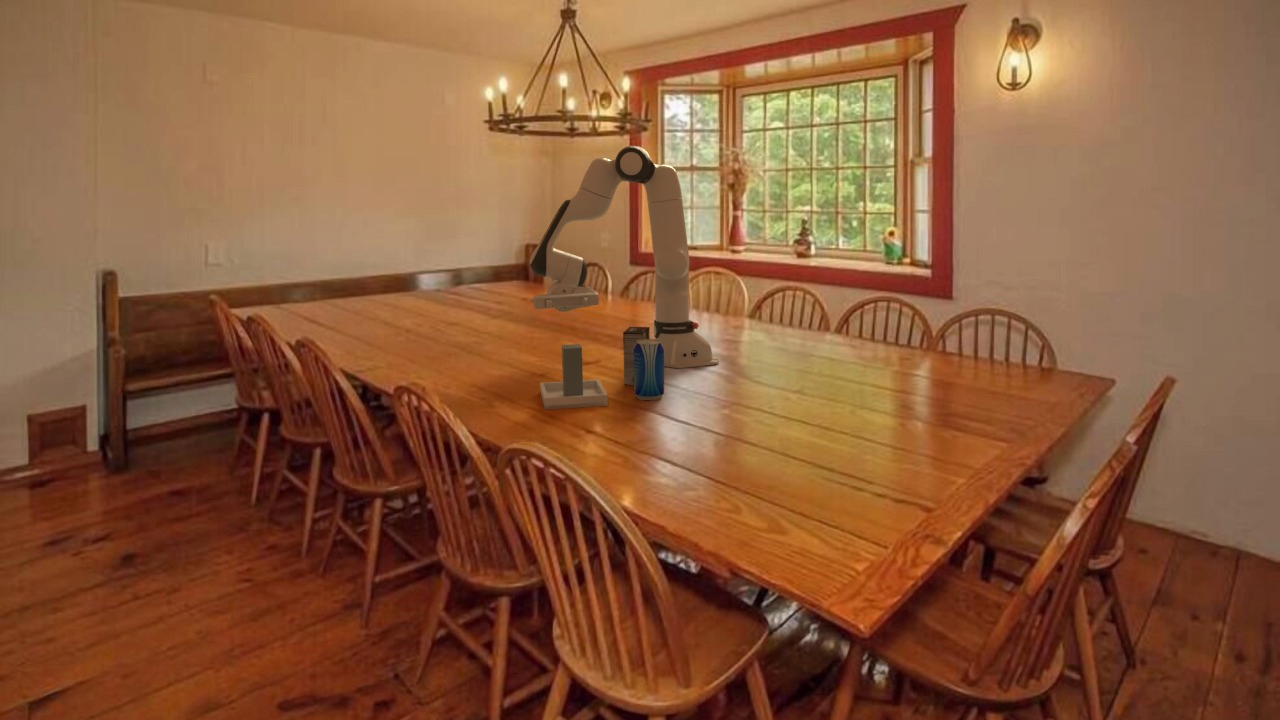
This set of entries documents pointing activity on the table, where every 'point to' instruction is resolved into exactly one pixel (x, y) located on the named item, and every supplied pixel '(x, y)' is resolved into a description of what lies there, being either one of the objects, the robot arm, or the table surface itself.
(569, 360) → the slate block
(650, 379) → the beer can
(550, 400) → the bin
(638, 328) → the coffee box
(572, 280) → the robot arm
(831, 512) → the table surface
